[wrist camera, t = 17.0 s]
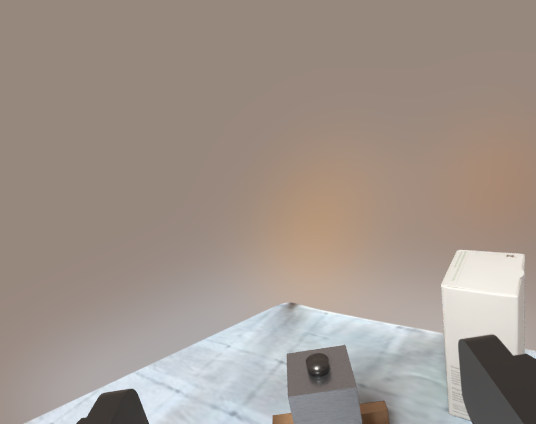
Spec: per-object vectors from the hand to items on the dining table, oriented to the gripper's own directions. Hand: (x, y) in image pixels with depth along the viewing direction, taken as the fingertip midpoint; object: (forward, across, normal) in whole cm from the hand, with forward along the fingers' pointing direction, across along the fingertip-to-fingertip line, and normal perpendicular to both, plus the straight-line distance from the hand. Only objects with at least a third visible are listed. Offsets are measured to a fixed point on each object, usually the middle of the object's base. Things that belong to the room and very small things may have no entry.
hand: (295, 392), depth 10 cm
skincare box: (+27, -16, +29) cm, 43 cm away
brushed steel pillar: (+18, 0, +28) cm, 33 cm away
